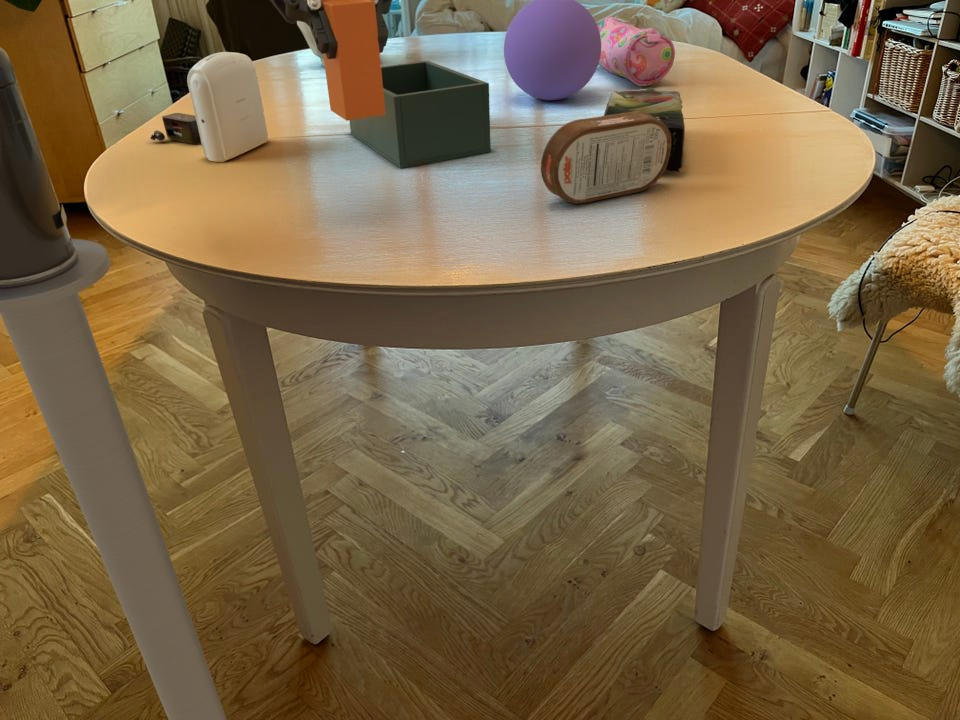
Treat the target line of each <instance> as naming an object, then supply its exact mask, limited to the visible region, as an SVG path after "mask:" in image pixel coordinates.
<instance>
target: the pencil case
mask: <svg viewBox="0 0 960 720" xmlns="http://www.w3.org/2000/svg"><path fill="white" fill-rule="evenodd" d="M629 22H630V21H627V20H625V19H623V18H620V16H618V15H615V16H610V17H605V18H603V20H602V21H601V22H600V23H597V26H598V29H599V32H600V37H601V55H600V60H599V64H598V66H600V67H602V68H604V70H606V71H607V72H610V73H612V74H614V75H616V76H620V77H622V78H625V79H627V80H629V81H630V82H631V83H633V84H634V85H636V86H638V87H648V86H651V85H653V84H656V83H658V82H660V81H661V80H662V79H663V78H665V77H666V76H667V75H668V73H670V71H671V69H672V67H673V65H674V62H675V57H676V50H675V49H676V48H675V45H674V42H673V41H672V40H671V38H670V37H668V36H666V35H665V34H664V33H662V32H661V31H659V30H656V29H655V28H654V27H648V28H639V27H637V26H635V25H633V24H630V23H629Z"/></svg>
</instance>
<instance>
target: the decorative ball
mask: <svg viewBox="0 0 960 720" xmlns="http://www.w3.org/2000/svg"><path fill="white" fill-rule="evenodd" d="M597 25H598V23H597V21H596V20H595V18H594V17H593V15H592V14H591V12H590V11H589V10H588V9H587V8H586V7H585V6H584V5H583V4H582V3H580V2H578V1H577V0H532V1H530V2H528V3H526V4H525V5H524V6H523V7H522V8H520V9H519V10H518V12H517V13H516V14H515V15H514V17H513V18H512V19H511V22H510V24H509V26H508V27H507V30H506V33H505V38H504V42H503V57H504V63H505V67H506V69H507V72H508V74H509V76H510V78H511V79H512V81H513V82H514V84H515V85H516V86H517V87H518V88H519V89H520V90H521V91H523V92H524V93H525V94H526V95H529V96H531V97H533V98H535V99H539V100H542V101H559V100H564V99H567V98H569V97H571V96H574V95H575V94H577V93H578V92H580V91H581V90H582V89H583V88H584V87H586V86H587V85H588V84H589V82H590V81H591V79H592V78H593V76H594V75H595V73H596V71H597V69H598V66H599V65H598V64H599V60H600V55H601V37H600V32H599V29H598V26H597Z"/></svg>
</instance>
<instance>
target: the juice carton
mask: <svg viewBox="0 0 960 720" xmlns="http://www.w3.org/2000/svg"><path fill="white" fill-rule="evenodd" d="M634 111H641V112H645V113H648V114H649V115H651V116H652V117H654V118H656V119H658V120H659V121H661V122H662V123H663V124H664V125H665V126H666V127H667V128H668V130H669V132H670V135H673V134H674V142H675V143H674V144H673V145H672V148H673V149H672V150H671V151H672V152H671V153H670V157H669V160H668V164H667V167H666V169H665V171H666V170H667V171H669V172H680V170H679V169H682V167H683V165H684V164H683V163H684V147H685V133H686V125H685V117H684V113H683V100H682V97H681V93H680V92H679V91H676V90H669V89H668V90H667V89H666V90H655V89H653V88H647V89H643V88H642V89H639V90H622V91H621V90H620V91H619V90H618V91H617V90H611V92H610V95H609V98H608V101H607V104H606V107H605V110H604V114H603V116H607V115H614V114H621V113H628V112H634Z"/></svg>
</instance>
